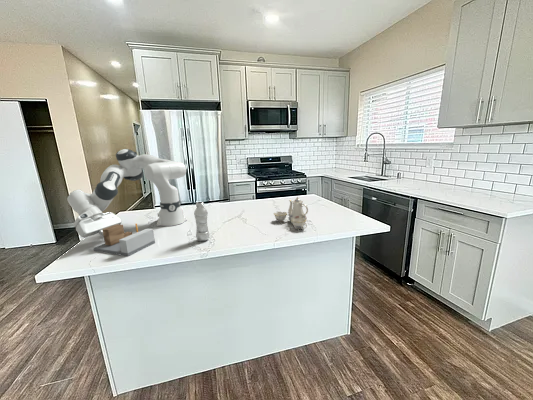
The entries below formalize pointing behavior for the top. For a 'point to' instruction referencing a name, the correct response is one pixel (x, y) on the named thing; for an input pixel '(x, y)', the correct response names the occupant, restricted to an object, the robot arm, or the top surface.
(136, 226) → the needle
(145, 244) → the base
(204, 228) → the plastic bottle
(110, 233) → the brown wooden block
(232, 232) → the top surface
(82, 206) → the robot arm
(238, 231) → the top surface
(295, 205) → the chinaware
